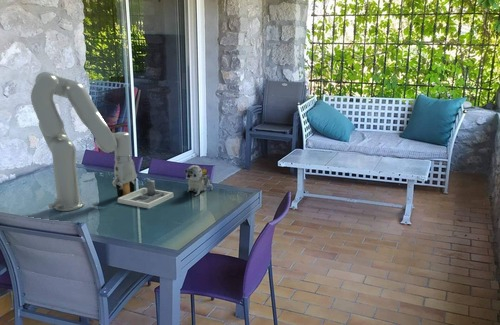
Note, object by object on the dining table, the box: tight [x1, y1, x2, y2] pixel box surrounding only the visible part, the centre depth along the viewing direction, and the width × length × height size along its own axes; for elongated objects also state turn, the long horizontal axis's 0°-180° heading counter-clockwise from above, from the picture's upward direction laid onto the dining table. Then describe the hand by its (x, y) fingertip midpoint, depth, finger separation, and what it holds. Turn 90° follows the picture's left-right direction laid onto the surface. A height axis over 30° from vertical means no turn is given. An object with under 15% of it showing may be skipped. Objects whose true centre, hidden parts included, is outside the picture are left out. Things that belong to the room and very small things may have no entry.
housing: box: [117, 187, 174, 210], centre depth 226 cm, size 18×18×3 cm
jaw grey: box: [146, 179, 156, 197], centre depth 229 cm, size 5×5×8 cm
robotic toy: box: [184, 164, 214, 197], centre depth 236 cm, size 13×17×15 cm
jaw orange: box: [122, 182, 131, 196], centre depth 232 cm, size 5×5×8 cm
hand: (126, 194), depth 233 cm, fingers open, 7 cm apart
